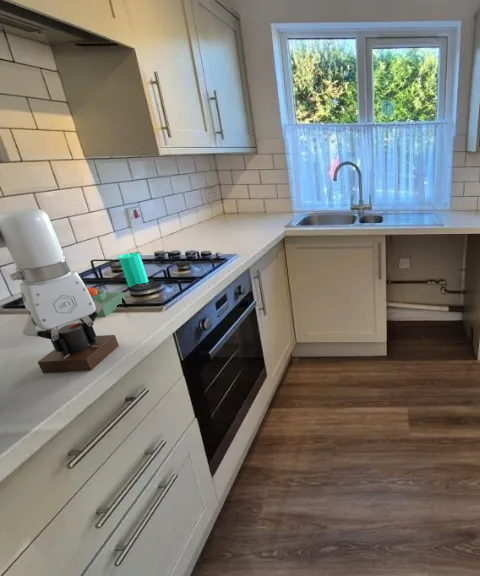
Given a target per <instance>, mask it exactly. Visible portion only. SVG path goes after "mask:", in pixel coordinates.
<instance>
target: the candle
mask: <svg viewBox="0 0 480 576" xmlns="http://www.w3.org/2000/svg"><path fill="white" fill-rule="evenodd" d="M118 260H119V263H120V266H121V269H122V272H123V274H124V277H125V280H126V283H127V287H128V288H132V287H131V286H134V285H136V284H142V283H147V282H149V279H148V275H147V273H146V269H145V265H144V263H143V260H142V256H141V253H140V252H129V249H128V250H127V253H124V254H120V255H119V256H118ZM147 284H148V283H147Z"/></svg>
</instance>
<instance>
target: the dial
mask: <svg viewBox="0 0 480 576" xmlns="http://www.w3.org/2000/svg"><path fill="white" fill-rule="evenodd" d="M58 333H59V336H60V337H61V338H63V339H64V342H65V344H66V346H67V348H68V350H69V353H72V352H78V351H81V350H83V349H85V348H87V347H88V346H89V345H90V341H89V339H88V337H87V334H86V332H85V329H84V327H83V325H82V322H81V321H80V322H76V323H69V324H65V325H63V326H61V327H60V328H58Z"/></svg>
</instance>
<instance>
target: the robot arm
mask: <svg viewBox="0 0 480 576" xmlns="http://www.w3.org/2000/svg"><path fill="white" fill-rule="evenodd" d="M3 248H6V249H7V250H8V253H9V254H10V257H11V258H12V261H13V263H14V265H15V271H14V272H13V273H10V274H9V278H10V280H11V281H13V282H14V281H21V282H19V289H20V294H21V298H22V301H23V305H24V307H25V310H26V313H27V316H28V318H27V320H26V322H25V325H24V326H23V329H22V334H23V335H25V336H27V337H28V336H29V337H39V338H43V339H47V340H50V342H51V344H52V346H53V348H54V349H55V350H56V351H57V352H61V353H63V354H65V355H67V354H69V350H68V348H67V346H66V344H65V342H64V339H63V338H61V337H60V336H59V333H58V330H59V327H63V326H66V325H68V324H71V323H72V322H75V321H80V322H81V323H82V325H83V327H84V329H85V332H86V334H87V337H88V339H89V341H90V342H91V343H95V342H96V341H95V338H94V337H96V336H97V335H96V332H95V329H94V327H93V326H94V325H95V323H94V322H95V320H96V319H97V318H98V317H97V315H98V313H99V312H100V311H101V309H102V308H103V307H104V306H103V305H102V304H101V303H99V302H97V301H95V300H93V299H92V298H91V296H90V294H89V292H88V290H87V288H88V287H86V284H85V282H84V281H83V279H82V278H81V276H80V275H79V273H78V272H77V271H76V270H72V269H71V268H70V266H69V264H68V260H66V259H67V258H66V256H65V254H64V251H63V249H62V247H61V244H60V242H59V239H58V236H57V234H56V232H55V229H54V226H53V223H52V222H51V219H50V217H49V215H48V213H47V212H46V211H44V210H43V209H39V208H24V209H14V210H10V211H4V212H0V249H3ZM36 327H38V328H39V329H37V328H36Z"/></svg>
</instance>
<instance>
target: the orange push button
mask: <svg viewBox="0 0 480 576" xmlns="http://www.w3.org/2000/svg"><path fill="white" fill-rule="evenodd" d="M86 288H87V290H88V292H89V294H90V296H91V297H92V296H95V295H97V294H98V291H97V290H98V288H96V287H95V286H94V287H93V286H91V287H86Z"/></svg>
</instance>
